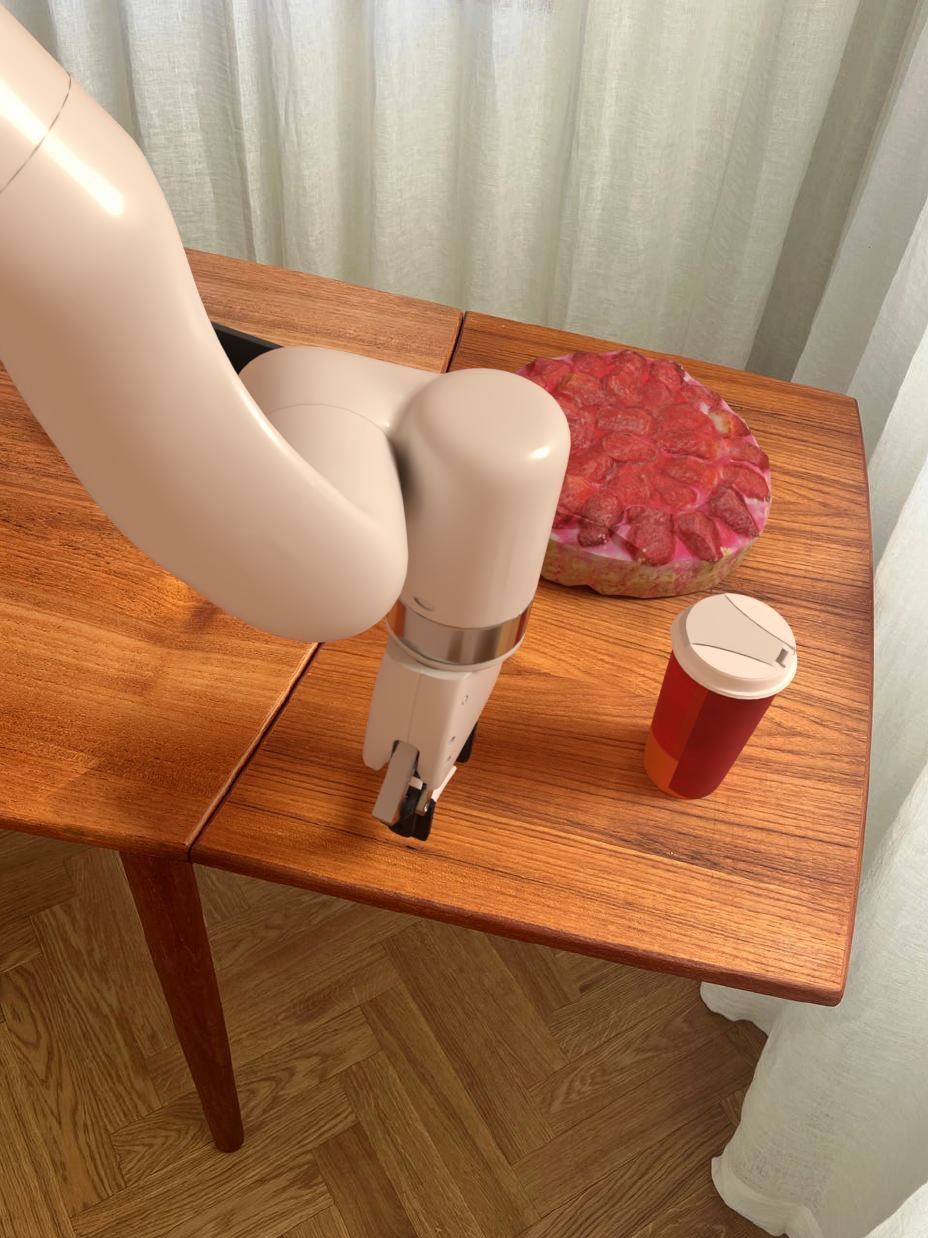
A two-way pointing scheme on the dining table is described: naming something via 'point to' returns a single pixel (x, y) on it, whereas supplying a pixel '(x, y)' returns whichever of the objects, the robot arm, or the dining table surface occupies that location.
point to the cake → (649, 477)
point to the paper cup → (716, 690)
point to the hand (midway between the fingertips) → (426, 787)
